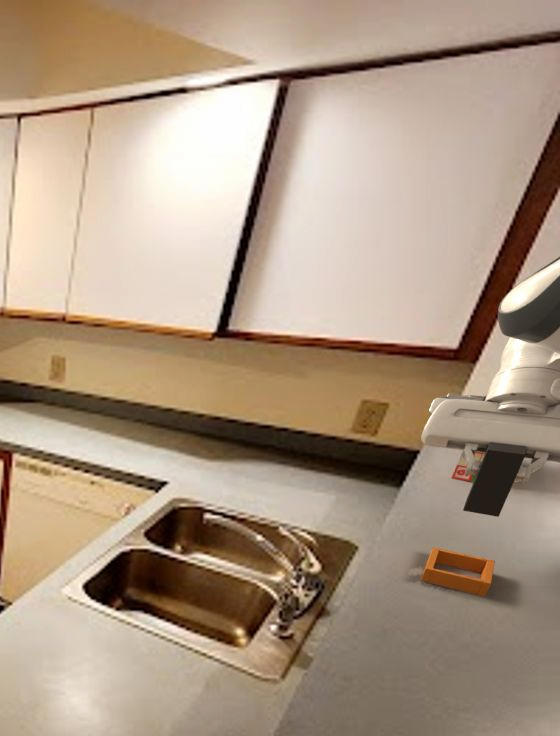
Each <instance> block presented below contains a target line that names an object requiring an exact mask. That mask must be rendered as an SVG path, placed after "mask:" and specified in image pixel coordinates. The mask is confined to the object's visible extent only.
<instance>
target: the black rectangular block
mask: <svg viewBox="0 0 560 736" xmlns="http://www.w3.org/2000/svg"><path fill="white" fill-rule="evenodd" d="M526 449H527V446H519V445H511V444H502V443H494V442H490V443H489V445H488V448H487V450H486V453H485V455H484V458H483V460H482V464H481V466H480V469H479V471H478V474H477V476H476V477H475V480H474V482H472V485H471V487H470V489H469V492H468V494H467V496H466V499H465V502H464V506H463V509H462V511H464V512H468V513H474V514H479V515H480V514H481V515H486V516H491V517H497V518H498V517H500V515H501V512H502V511H503V508H504V505H505V503H506V501H507V499H508V496H509V495H510V492H511V490H512V487H513V485H514V483H515V481H514V480H515V478H516V476H517V474H518V471H519V469H520V467H522V465H523V462H524V460H525V459H526V458H525V455H526Z"/></svg>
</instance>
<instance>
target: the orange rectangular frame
mask: <svg viewBox="0 0 560 736" xmlns="http://www.w3.org/2000/svg"><path fill="white" fill-rule="evenodd" d="M495 563H496V561H495V560H493V559H489V558H488V559H487V558H484V557H480V556H475V555H469V554H466V553H460V552H456V551H451V550H446V549H442V548H437V547H432V549H431V551H430V554H429V557H428V558H427V561H426V564H425V567H424V570H423V572H422V575H421V579H420V582H425V583H429V584H433V585H437V586H441V587H445V588H449V589H453V590H457V591H461V592H465V593H470V594H474V595H478V596H482V597H486V595H487V593H488V591H489V588H490V587H491V585H492V579H493V575H494V570H495V569H494V568H495ZM436 564H439V565H445V566H448V567H449V566H450V567H454V568H458V569H462V570H467V571H472V572H475V573H479V574H481V575H480V578H477V577H473V576H469V575H463V574H459V573H456V572H451V571H447V570H443V569H438V568H435V565H436Z"/></svg>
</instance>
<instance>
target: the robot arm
mask: <svg viewBox="0 0 560 736" xmlns="http://www.w3.org/2000/svg"><path fill="white" fill-rule="evenodd" d="M497 322H498V326H499V329H500V332H501V334H503V335H504V336H505V337H508V338H509V339H508V341H507V342H506V345H505V347H504V349H503V351H502V354H501V357H500V360H499V366H500V367H499V370H498V371H497V373H495V375H494V377H493V378H492V380H491V382H490V386H489V387H488V390H487V392H486V395H474V394H459V393H447V395H446V394H445V395H441V396H438V397H436V398H434V399H433V400H432V402H431V404H430V406H429V409H428V413H429V414H430V417H429V418H428V420H427V422H426V423H425V425H424V428H423V430H422V433H421V436H420V440H421V443H423V445H424V446H426V447H427V446H428V447H434V448H435V447H436V448H442V449H451V450H459V451H462V452H463V454H462V453H461V454H462V457H463V459H464V461H465V463H466V465H468V466H467V469H466V471H465V474H468V475H475V476H477V474H478V471H479V469H480V466H481V464H482V462H481V461H476V460H475V457H474V455H475V452H481V453H486V450H487V448H488V445H489V443H490V442H494V443H502V444H511V445H519V446H527V449H526V455H525V458H524V459H529V460H530V464H529V465H528V466H521V467H520V469H519V471H518V474H517V476H516V478H515V480H514V482H516V483H524V484H526V483H527V482H528V480H529V479H530V476H531V474H533V473H534V472H536V471H538V470H539V469H541V468H542V467H544V465H545V463H546V462H552V463H558V464H559V463H560V255H559V256H558V257H556V258H555V259H554V260H552V261H551V262H549V263H548V264H546V265H545V266H543V267H541V268H540V269H538V270H537V271H535V272H534V273H531V274H530V275H529V276H528V277H526V278H524V279H523V280H522V281H520V282H519V283H517V285H515V286H514V287H513V288H512V289H511V290H509V292H508V293H507V294H506V295H504V297H503V298H502V300H501V301H500V303H499V305H498V309H497ZM463 450H464V451H463Z"/></svg>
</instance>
